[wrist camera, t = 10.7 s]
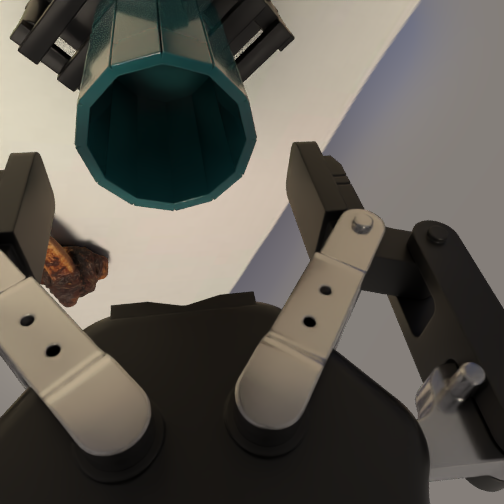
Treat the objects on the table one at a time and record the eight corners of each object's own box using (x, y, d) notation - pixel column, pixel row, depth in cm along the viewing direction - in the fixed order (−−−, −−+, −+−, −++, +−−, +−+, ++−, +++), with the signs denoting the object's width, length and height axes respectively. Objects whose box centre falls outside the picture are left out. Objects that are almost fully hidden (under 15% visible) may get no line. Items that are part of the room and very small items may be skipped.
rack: (143, -164, 21) (144, -151, 16) (270, -1, 27) (298, 43, 23) (31, -5, 25) (6, 43, 20) (165, 106, 31) (170, 163, 27)
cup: (151, -65, 18) (158, 8, 12) (247, 43, 22) (288, 138, 16) (67, 43, 21) (37, 148, 15) (167, 123, 25) (176, 232, 19)
